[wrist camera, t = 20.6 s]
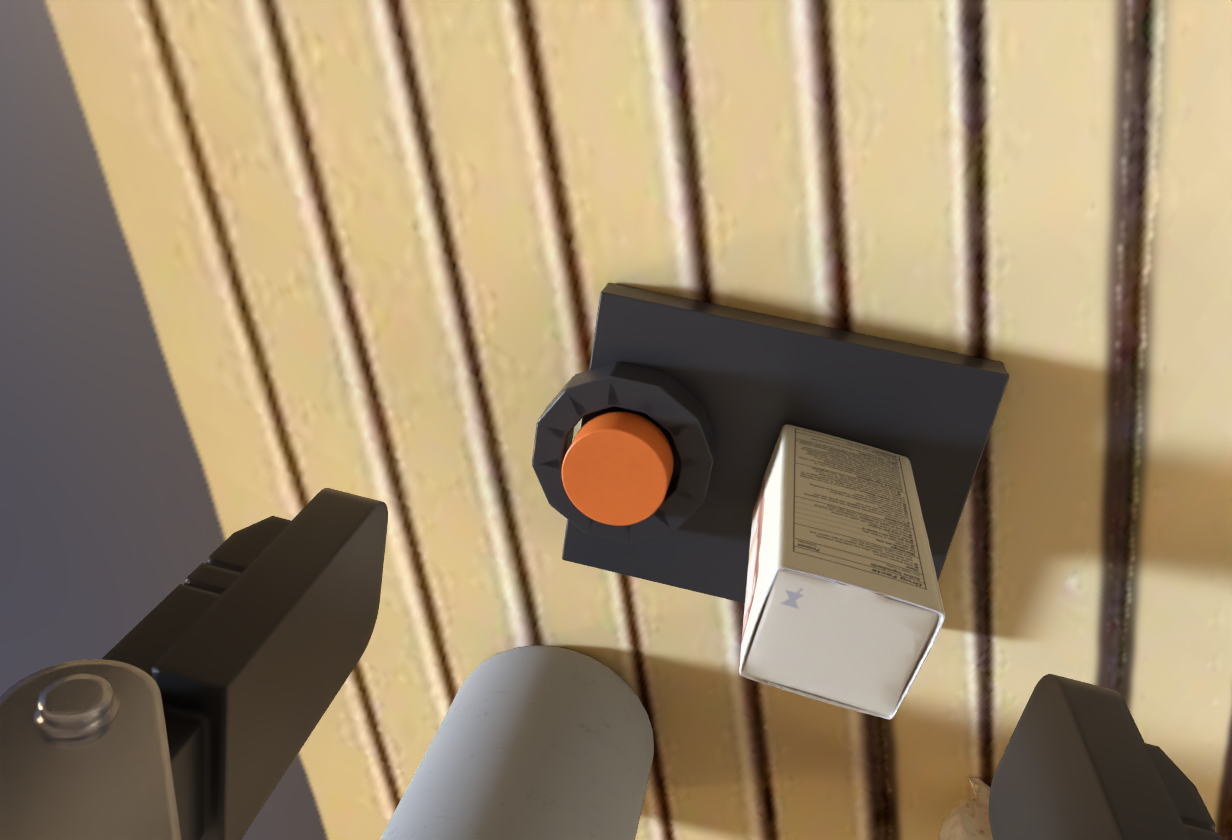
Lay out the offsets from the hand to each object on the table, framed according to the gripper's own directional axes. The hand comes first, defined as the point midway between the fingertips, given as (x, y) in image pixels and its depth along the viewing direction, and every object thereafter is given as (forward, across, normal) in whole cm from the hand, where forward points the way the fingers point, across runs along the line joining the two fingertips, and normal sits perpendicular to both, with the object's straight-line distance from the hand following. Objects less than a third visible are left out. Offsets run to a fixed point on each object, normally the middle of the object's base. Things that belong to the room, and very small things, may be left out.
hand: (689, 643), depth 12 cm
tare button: (+23, +3, +10) cm, 25 cm away
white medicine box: (+24, -5, +9) cm, 27 cm away
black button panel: (+26, -3, +10) cm, 28 cm away
